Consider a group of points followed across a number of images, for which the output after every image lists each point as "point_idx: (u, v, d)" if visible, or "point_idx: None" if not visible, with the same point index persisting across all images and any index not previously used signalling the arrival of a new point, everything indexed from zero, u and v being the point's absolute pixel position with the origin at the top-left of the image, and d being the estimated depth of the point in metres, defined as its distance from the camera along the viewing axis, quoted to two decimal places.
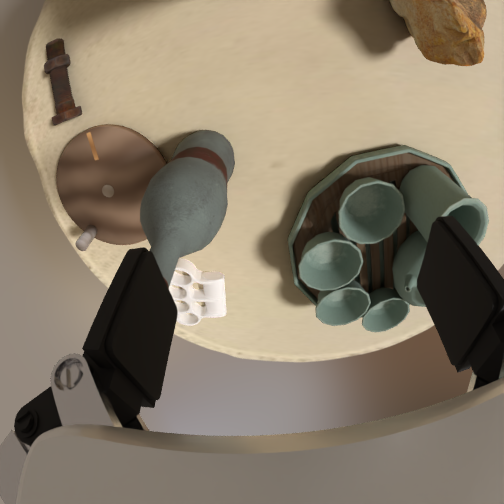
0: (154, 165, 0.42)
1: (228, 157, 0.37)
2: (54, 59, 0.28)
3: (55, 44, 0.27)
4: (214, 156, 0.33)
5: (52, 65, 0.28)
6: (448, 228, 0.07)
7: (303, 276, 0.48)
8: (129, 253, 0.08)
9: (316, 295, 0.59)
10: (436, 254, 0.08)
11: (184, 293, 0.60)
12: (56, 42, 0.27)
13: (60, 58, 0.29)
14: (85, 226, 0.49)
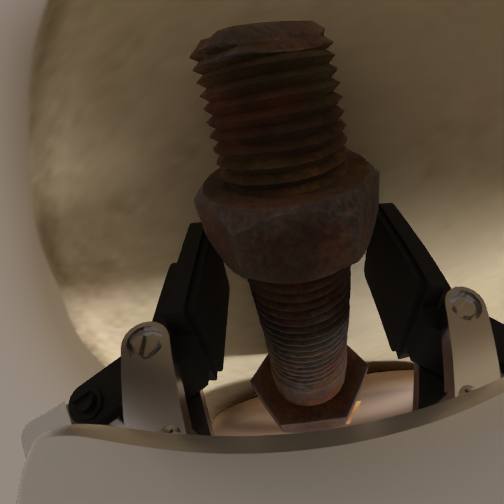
0: None
1: None
2: (351, 217, 0.05)
3: (317, 65, 0.05)
4: None
5: (327, 258, 0.06)
6: (385, 214, 0.08)
7: None
8: (192, 226, 0.09)
9: None
10: (375, 240, 0.09)
11: None
12: (319, 50, 0.04)
13: (369, 205, 0.06)
14: None
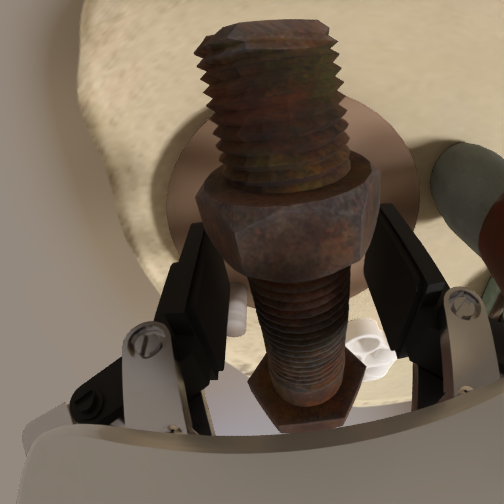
0: (406, 187, 0.22)
1: None
2: (354, 216, 0.05)
3: (322, 64, 0.05)
4: None
5: (329, 257, 0.06)
6: (384, 214, 0.08)
7: None
8: (193, 226, 0.09)
9: None
10: (374, 240, 0.09)
11: None
12: (324, 49, 0.04)
13: (371, 204, 0.06)
14: None
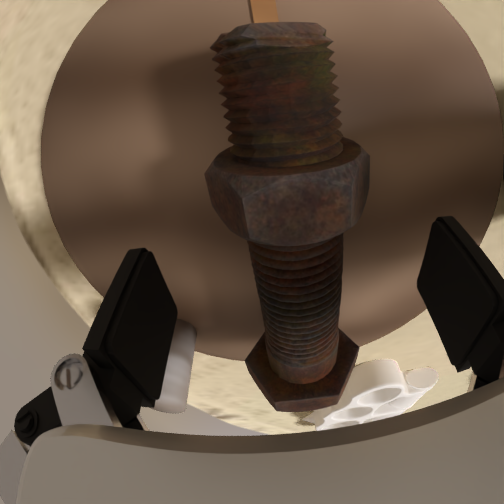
0: (487, 153, 0.09)
1: None
2: (345, 186, 0.06)
3: (319, 59, 0.05)
4: None
5: (324, 223, 0.07)
6: (448, 228, 0.07)
7: None
8: (129, 253, 0.08)
9: None
10: (436, 254, 0.08)
11: (357, 407, 0.28)
12: (321, 47, 0.05)
13: (360, 180, 0.07)
14: None
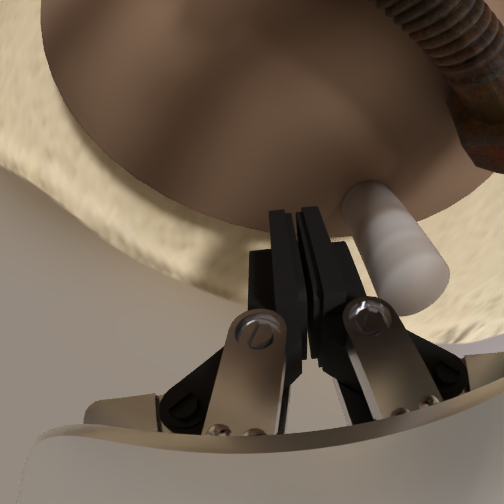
0: None
1: None
2: None
3: None
4: None
5: None
6: (307, 218, 0.09)
7: None
8: (272, 213, 0.09)
9: None
10: (299, 245, 0.09)
11: None
12: None
13: None
14: (331, 211, 0.12)
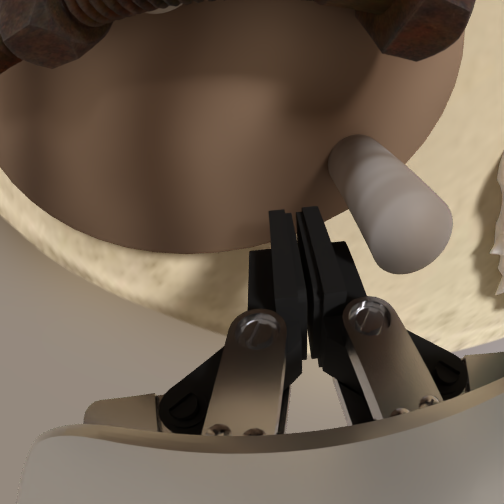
0: None
1: None
2: None
3: None
4: None
5: None
6: (307, 218, 0.09)
7: None
8: (272, 213, 0.09)
9: None
10: (299, 244, 0.09)
11: None
12: None
13: None
14: (327, 189, 0.11)
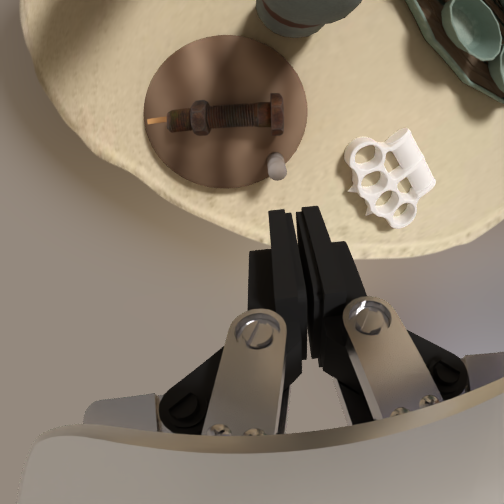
0: (200, 48, 0.30)
1: None
2: (192, 113, 0.32)
3: (173, 115, 0.33)
4: None
5: (200, 116, 0.32)
6: (307, 218, 0.09)
7: (470, 51, 0.22)
8: (272, 213, 0.09)
9: (492, 90, 0.29)
10: (299, 245, 0.09)
11: (383, 182, 0.42)
12: (171, 114, 0.33)
13: (196, 106, 0.32)
14: (267, 167, 0.41)
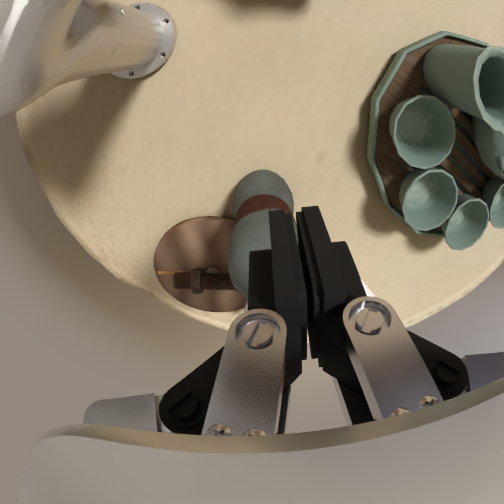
0: (192, 229, 0.49)
1: (276, 187, 0.39)
2: (191, 284, 0.51)
3: (177, 280, 0.52)
4: (262, 199, 0.36)
5: (196, 287, 0.51)
6: (307, 218, 0.09)
7: (416, 226, 0.41)
8: (272, 213, 0.09)
9: (442, 228, 0.48)
10: (299, 245, 0.09)
11: None
12: (176, 279, 0.52)
13: (193, 278, 0.51)
14: (245, 302, 0.60)
